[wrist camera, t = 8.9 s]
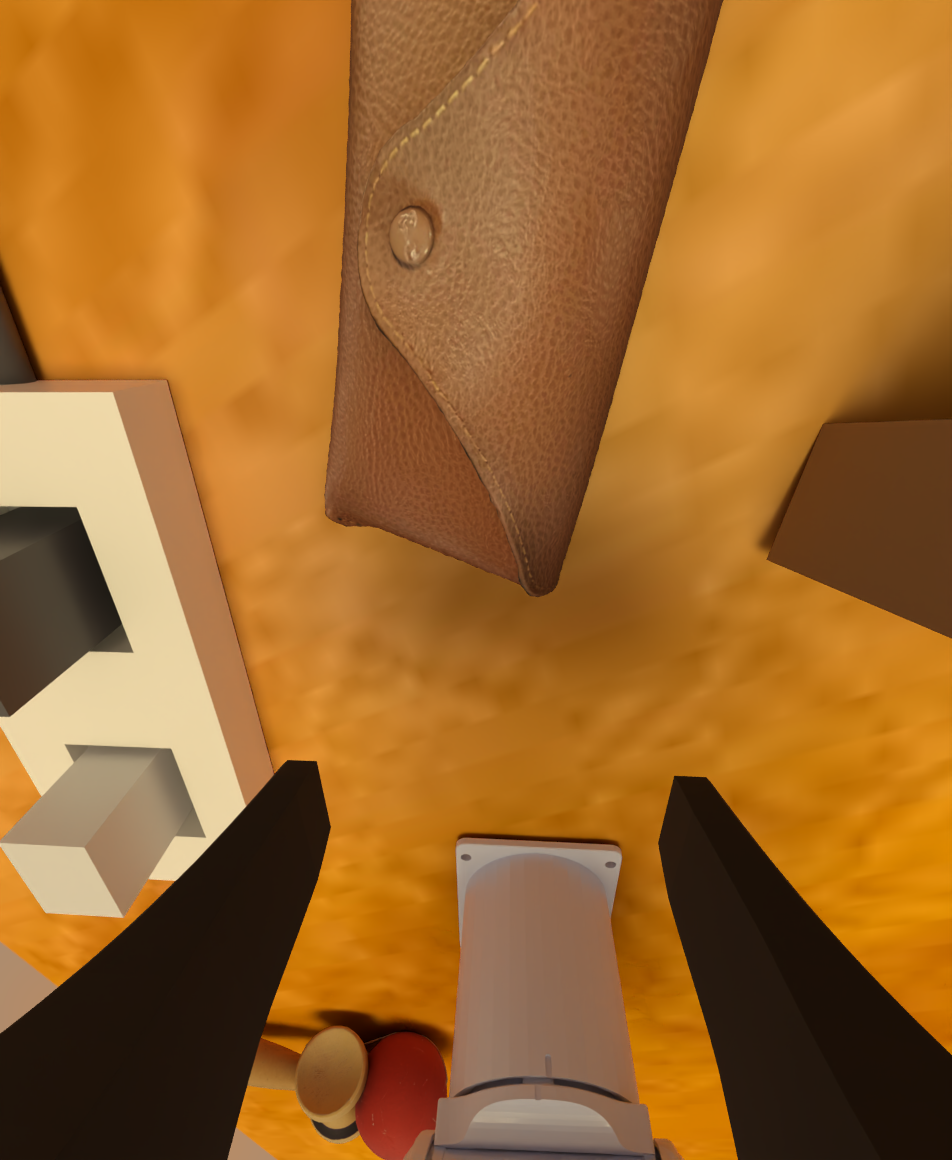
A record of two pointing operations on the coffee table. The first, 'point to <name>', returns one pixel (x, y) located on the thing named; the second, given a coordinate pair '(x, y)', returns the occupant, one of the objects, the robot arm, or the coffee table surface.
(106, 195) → the coffee table surface
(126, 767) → the beige plug
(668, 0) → the sunglasses case
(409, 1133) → the kendama
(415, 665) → the coffee table surface
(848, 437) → the photo frame
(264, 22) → the coffee table surface
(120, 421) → the power strip
